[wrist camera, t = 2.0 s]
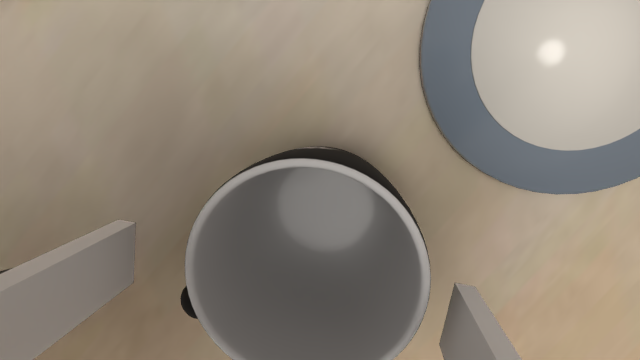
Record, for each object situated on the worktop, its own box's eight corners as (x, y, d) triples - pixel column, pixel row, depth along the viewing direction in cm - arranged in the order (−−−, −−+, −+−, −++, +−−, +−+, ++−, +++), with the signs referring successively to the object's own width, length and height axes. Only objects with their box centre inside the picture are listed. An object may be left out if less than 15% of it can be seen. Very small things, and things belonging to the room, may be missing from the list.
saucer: (394, 166, 22) (396, 170, 20) (455, -139, 18) (462, -156, 17) (669, 211, 21) (688, 217, 19) (789, -103, 17) (821, -118, 16)
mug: (357, 107, 21) (360, 108, 11) (421, 235, 22) (474, 339, 12) (192, 193, 23) (72, 259, 13) (259, 307, 24) (194, 443, 15)
